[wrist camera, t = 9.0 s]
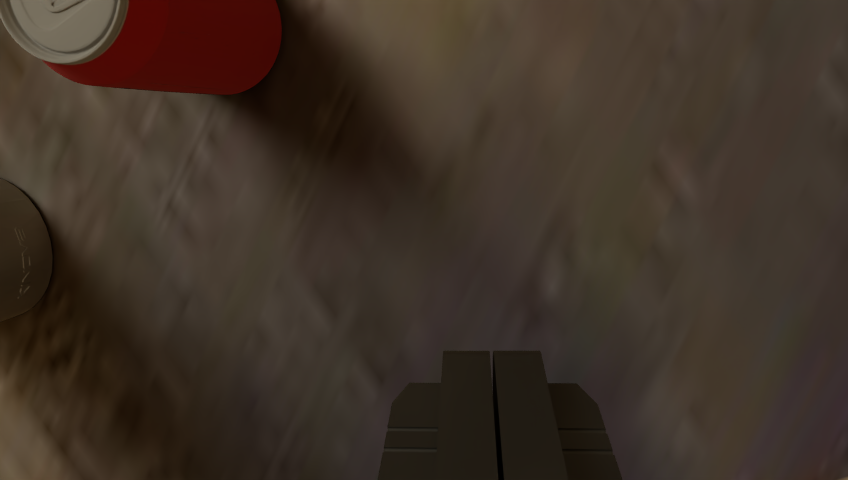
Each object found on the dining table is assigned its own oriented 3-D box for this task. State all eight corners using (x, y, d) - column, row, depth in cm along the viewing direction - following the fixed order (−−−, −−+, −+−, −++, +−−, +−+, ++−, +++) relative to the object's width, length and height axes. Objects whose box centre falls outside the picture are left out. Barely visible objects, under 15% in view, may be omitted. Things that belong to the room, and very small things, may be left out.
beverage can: (155, -7, 34) (-54, -71, 22) (262, -58, 32) (93, -156, 21) (201, 113, 35) (20, 110, 23) (307, 69, 33) (168, 43, 21)
